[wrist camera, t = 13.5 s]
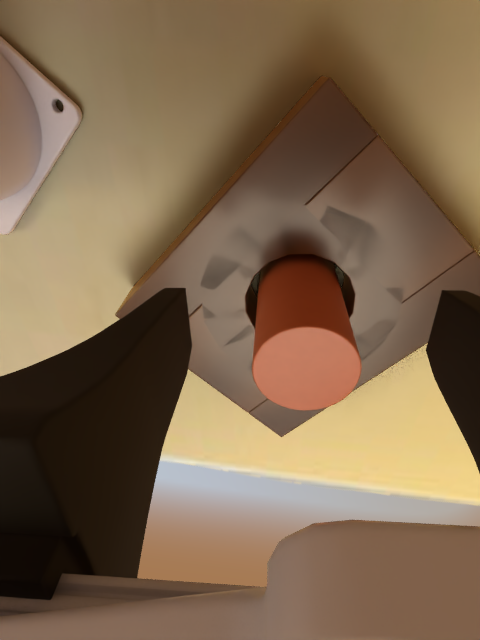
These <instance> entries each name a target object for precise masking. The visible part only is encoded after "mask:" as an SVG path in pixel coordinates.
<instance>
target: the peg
mask: <svg viewBox="0 0 480 640" xmlns="http://www.w3.org/2000/svg"><path fill="white" fill-rule="evenodd" d="M361 368H362V365H361V359H360V355H359V351H358V348H357V344H356V341H355V337H354V334H353V330H352V327H351V323H350V320H349V316H348V313H347V309H346V306H345V302H344V299H343V295H342V292H341V288H340V285H339V281H338V278H337V274H336V271H335V267H334V264H333V262H332V261H330V260H327V259H324V258H322V257H319V256H317V255H314V254H289V255H286V256H284V257H281V258H278V259H276V260H273V261H271V262H269V263H268V264H267V265H266V266H265V267H264V268H262V269H261V270H260V276H259V288H258V300H257V312H256V324H255V337H254V349H253V361H252V375H253V378H254V381H255V383H256V385H257V387H258V388H259V390H260V391H261V392H262V394H263V395H264V396H266V397H267V398H268V399H269V400H271V401H272V402H274V403H276V404H278V405H280V406H283V407H286V408H289V409H295V410H317V409H322V408H325V407H329V406H331V405H333V404H336V403H337V402H339V401H341V400H342V399H344V398H345V397H346V396H347V395H349V394H350V393H351V392H352V390H353V389H354V388H355V386H356V385H357V383H358V380H359V378H360V375H361Z"/></svg>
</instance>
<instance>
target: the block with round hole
mask: <svg viewBox="0 0 480 640" xmlns="http://www.w3.org/2000/svg"><path fill="white" fill-rule="evenodd" d="M289 254H314V255H317V256H319V257H322V258H324V259H327V260H330V261H332V262H334V263H335V264H336V265H337V266H338V267H339V268H340V269H341V270H342V271H343V272H344V273H345V276H344V285H343V287H342V288H341V292H342V295H343V299H344V302H345V306H346V309H347V313H348V316H349V320H350V323H351V327H352V330H353V334H354V337H355V341H356V344H357V348H358V351H359V355H360V359H361V365H362V368H361V375H360V378H359V380H358V383H357V385H356V386H355V388H354V389H353V390H352V391H354V390H355V389H357V388H358V387H360V386H361V385H363V384H364V383H366V382H368V381H369V380H371V379H372V378H374V377H375V376H377V375H378V374H380V373H381V372H383V371H385V370H386V369H388V368H389V367H391V366H392V365H394V364H395V363H397V362H398V361H400V360H402V359H403V358H405V357H406V356H408V355H409V354H411V353H412V352H414V351H415V350H417V349H419V348H420V347H422V346H423V345H425V344H426V343H428V341H429V337H430V333H431V329H432V326H433V322H434V318H435V314H436V311H437V307H438V303H439V300H440V296H441V292H442V290H465V291H468V292H471V293H473V294H476V295H478V296H480V256H479V255H478V254H477V252H476V251H475V250H474V249H473V248H472V246H471V245H470V244H469V243H468V242H467V240H466V239H465V238H464V237H463V236H462V234H461V233H460V232H459V231H458V230H457V228H456V227H455V226H454V225H453V224H452V222H451V221H450V220H449V219H448V218H447V217H446V215H445V214H444V213H443V212H442V211H441V209H440V208H439V207H438V206H437V205H436V203H435V202H434V201H433V200H432V199H431V197H430V196H429V195H428V194H427V193H426V191H425V190H424V189H423V188H422V187H421V185H420V184H419V183H418V182H417V181H416V179H415V178H414V177H413V176H412V175H411V173H410V172H409V171H408V170H407V169H406V167H405V166H404V165H403V164H402V163H401V161H400V160H399V159H398V158H397V157H396V155H395V154H394V153H393V152H392V151H391V149H390V148H389V147H388V146H387V145H386V143H385V142H384V141H383V140H382V139H381V137H380V136H379V135H377V133H376V132H375V130H374V129H373V128H372V127H371V126H370V124H369V123H368V122H367V121H366V120H365V118H364V117H363V116H362V115H361V114H360V112H359V111H358V110H357V109H356V108H355V106H354V105H353V104H352V103H351V102H350V100H349V99H348V98H347V97H346V96H345V94H344V93H343V92H342V91H341V90H340V88H339V87H338V86H337V85H336V84H335V82H334V81H333V80H332V79H331V78H329V77H325V76H321V77H320V78H319V79H318V80H317V81H316V82H315V83H314V84H313V85H312V87H311V88H310V89H309V90H308V91H307V92H306V93H305V94H304V96H303V97H302V98H301V99H300V100H299V101H298V102H297V103H296V105H295V106H294V107H293V108H292V109H291V110H290V111H289V112H288V113H287V115H286V116H285V117H284V118H283V119H282V120H281V121H280V122H279V124H278V125H277V126H276V127H275V128H274V129H273V130H272V131H271V133H270V134H269V135H268V136H267V137H266V138H265V139H264V140H263V142H262V143H261V144H260V145H259V146H258V147H257V148H256V149H255V151H254V152H253V153H252V154H251V155H250V156H249V157H248V158H247V160H246V161H245V162H244V163H243V164H242V165H241V166H240V167H239V169H238V170H237V171H236V172H235V173H234V174H233V175H232V176H231V178H230V179H229V180H228V181H227V182H226V183H225V184H224V185H223V186H222V188H221V189H220V190H219V191H218V192H217V193H216V194H215V195H214V197H213V198H212V199H211V200H210V201H209V202H208V203H207V204H206V206H205V207H204V208H203V209H202V210H201V211H200V212H199V213H198V215H197V216H196V217H195V218H194V219H193V220H192V221H191V222H190V224H189V225H188V226H187V227H186V228H185V229H184V230H183V231H182V233H181V234H180V235H179V236H178V237H177V238H176V239H175V240H174V242H173V243H172V244H171V245H170V246H169V247H168V248H167V249H166V251H165V252H164V253H163V254H162V255H161V256H160V257H159V258H158V260H157V261H156V262H155V263H154V264H153V265H152V266H151V267H150V268H149V270H148V271H147V272H146V273H145V274H144V275H143V276H142V277H141V279H140V280H139V281H138V282H137V283H136V284H135V285H134V286H133V288H132V289H131V291H130V292H129V294H128V295H127V297H126V298H125V300H124V301H123V303H122V305H121V306H120V308H119V309H118V311H117V312H116V314H115V315H116V316H117V317H118V318H119V319H121V318H123V317H124V316H126V315H127V314H129V313H130V312H131V311H133V310H134V309H136V308H137V307H138V306H140V305H141V304H143V303H144V302H145V301H147V300H148V299H149V298H151V297H152V296H153V295H155V294H156V293H158V292H159V291H161V290H162V289H164V288H186V296H187V305H188V313H189V322H190V331H191V339H192V349H191V355H190V361H189V366H188V369H189V370H190V371H192V372H193V373H195V374H196V375H197V376H199V377H200V378H201V379H203V380H204V381H205V382H207V383H208V384H210V385H211V386H212V387H214V388H215V389H216V390H218V391H219V392H221V393H222V394H223V395H225V396H226V397H227V398H229V399H230V400H231V401H233V402H234V403H236V404H237V405H238V406H240V407H241V408H242V409H244V410H245V411H246V412H249V414H251V415H252V416H253V417H255V418H256V419H257V420H259V421H260V422H261V423H263V424H264V425H266V426H267V427H268V428H270V429H271V430H272V431H274V432H275V433H277V434H278V435H279V436H281V437H282V436H284V435H285V434H287V433H289V432H290V431H292V430H293V429H295V428H296V427H298V426H299V425H301V424H303V423H304V422H306V421H307V420H309V419H310V418H312V417H313V416H315V415H316V414H318V413H320V412H321V411H323V410H324V409H326V408H327V407H325V408H322V409H317V410H295V409H289V408H286V407H283V406H280V405H278V404H276V403H274V402H272V401H271V400H269V399H268V398H267V397H266V396H264V395H263V394H262V392H261V391H260V390H259V388H258V387H257V385H256V383H255V381H254V378H253V375H252V361H253V349H254V337H255V324H256V312H257V300H258V299H257V297H256V295H255V293H254V291H253V289H252V287H251V282H252V280H253V278H254V276H255V275H256V274H257V273H258V272H259V271H260V270H261V269H262V268H264V267H265V266H266V265H267V264H268V263H269V262H271V261H273V260H276V259H278V258H281V257H284V256H286V255H289Z"/></svg>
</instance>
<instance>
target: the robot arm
mask: <svg viewBox="0 0 480 640" xmlns="http://www.w3.org/2000/svg"><path fill="white" fill-rule="evenodd" d="M57 100H60V101H61V102H62V103H63V106H64V109H63V111H62V112H61V111H59V110H58V108H57V106H56V101H57ZM81 120H82V112H81V110H80V108H79V107H78V106H77V104H75V103H74V102H73V101H72V100H71V99H70V98H69V97H68V96H67V95H65V94H64V93H63V92H62V91H61V90H60V89H59V88H58V87H56V86H55V85H54V84H53V83H52V82H51V81H50V80H49V79H48V78H46V77H45V76H44V75H43V74H42V73H41V72H40V71H39V70H38V69H36V68H35V67H34V66H33V65H32V64H31V63H30V62H29V61H28V60H26V59H25V58H24V57H23V56H22V55H21V54H20V53H19V52H17V51H16V50H15V49H14V48H13V47H12V46H11V45H10V44H9V43H7V42H6V41H5V40H4V39H3V38H2V37H1V36H0V234H3V235H7V234H9V233H11V232H12V231H13V230H14V229H15V227H16V226H17V224H18V222H19V221H20V219H21V218H22V216H23V214H24V213H25V211H26V210H27V208H28V206H29V205H30V203H31V202H32V200H33V198H34V197H35V195H36V194H37V192H38V190H39V189H40V187H41V186H42V184H43V182H44V181H45V179H46V177H47V176H48V174H49V173H50V171H51V169H52V168H53V166H54V165H55V163H56V161H57V160H58V158H59V157H60V155H61V153H62V152H63V150H64V149H65V147H66V145H67V144H68V142H69V141H70V139H71V137H72V136H73V134H74V133H75V131H76V129H77V128H78V126H79V125H80V123H81ZM191 349H192V339H191V331H190V322H189V313H188V305H187V296H186V288H164V289H162V290H161V291H159V292H158V293H156V294H155V295H153V296H152V297H151V298H149V299H148V300H147V301H145V302H144V303H143V304H141V305H140V306H138V307H137V308H136V309H134V310H133V311H131V312H130V313H129V314H127V315H126V316H124V317H123V318H121V319H120V320H118V321H117V322H115V323H114V324H112V325H111V326H109V327H107V328H106V329H104V330H103V331H101V332H100V333H98V334H96V335H95V336H93V337H91V338H89V339H88V340H86V341H84V342H82V343H80V344H78V345H76V346H74V347H72V348H70V349H68V350H66V351H64V352H62V353H60V354H58V355H55V356H53V357H50V358H48V359H46V360H43V361H41V362H39V363H36V364H34V365H32V366H29V367H27V368H24V369H21V370H18V371H16V372H13V373H10V374H7V375H4V376H1V377H0V640H480V527H477V526H459V525H458V526H457V525H440V524H421V523H402V522H384V521H365V520H364V521H363V520H345V521H335V522H324V523H314V524H311V525H310V526H307V527H305V528H303V529H301V530H299V531H297V532H295V533H293V534H291V535H289V536H287V537H285V538H284V539H282V540H281V541H280V542H279V543H278V545H277V546H276V548H275V550H274V552H273V554H272V556H271V558H270V559H269V561H268V572H267V575H268V576H267V587H255V586H241V585H225V584H211V583H196V582H182V581H166V580H152V579H138V578H137V574H138V569H139V563H140V557H141V551H142V545H143V540H144V534H145V528H146V524H147V518H148V513H149V508H150V503H151V498H152V493H153V488H154V483H155V478H156V474H157V469H158V465H159V460H160V456H161V451H162V447H163V444H164V440H165V437H166V433H167V431H168V428H169V425H170V422H171V419H172V416H173V413H174V410H175V407H176V404H177V402H178V399H179V396H180V393H181V390H182V387H183V384H184V381H185V378H186V375H187V371H188V366H189V361H190V355H191ZM426 352H427V355H428V359H429V362H430V366H431V369H432V372H433V375H434V378H435V380H436V382H437V384H438V387H439V389H440V391H441V393H442V395H443V397H444V399H445V401H446V403H447V405H448V407H449V409H450V411H451V413H452V415H453V416H454V418H455V420H456V422H457V424H458V426H459V428H460V430H461V432H462V434H463V436H464V438H465V440H466V442H467V444H468V446H469V448H470V451H471V453H472V455H473V457H474V459H475V462H476V464H477V467H478V470H479V473H480V296H478V295H476V294H473V293H471V292H468V291H465V290H442V292H441V296H440V300H439V303H438V307H437V311H436V314H435V318H434V322H433V326H432V329H431V333H430V337H429V341H428V344H427V348H426Z"/></svg>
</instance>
